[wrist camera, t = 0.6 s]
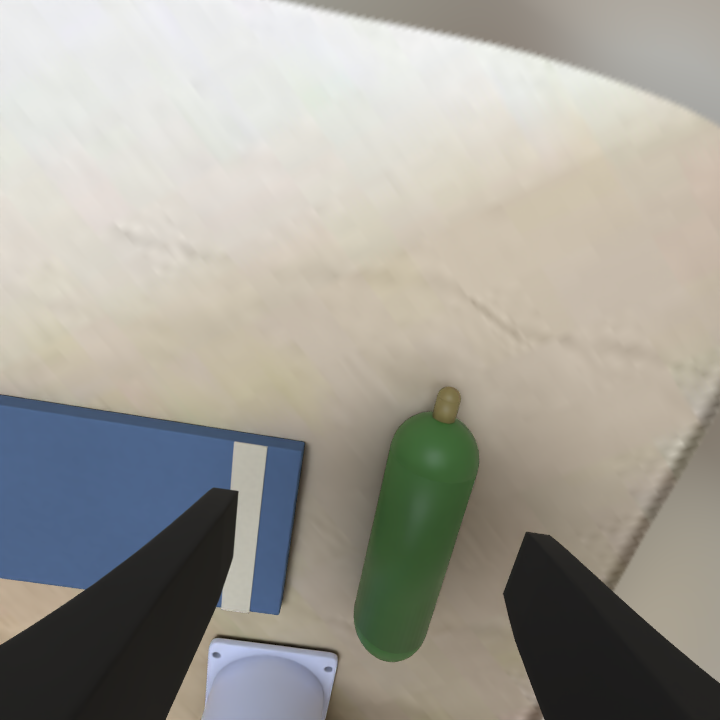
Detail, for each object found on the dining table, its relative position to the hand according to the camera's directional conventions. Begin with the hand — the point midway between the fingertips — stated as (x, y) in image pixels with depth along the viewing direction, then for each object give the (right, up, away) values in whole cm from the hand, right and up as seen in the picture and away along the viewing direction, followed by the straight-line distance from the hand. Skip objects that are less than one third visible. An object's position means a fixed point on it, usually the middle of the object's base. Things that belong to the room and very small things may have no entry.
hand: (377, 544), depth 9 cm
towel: (-14, -3, +11) cm, 18 cm away
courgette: (+2, -4, +11) cm, 12 cm away
